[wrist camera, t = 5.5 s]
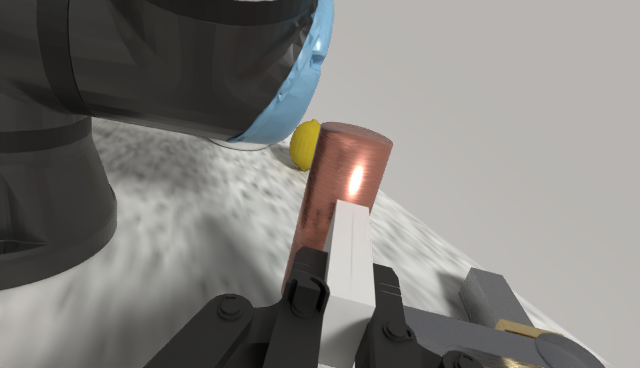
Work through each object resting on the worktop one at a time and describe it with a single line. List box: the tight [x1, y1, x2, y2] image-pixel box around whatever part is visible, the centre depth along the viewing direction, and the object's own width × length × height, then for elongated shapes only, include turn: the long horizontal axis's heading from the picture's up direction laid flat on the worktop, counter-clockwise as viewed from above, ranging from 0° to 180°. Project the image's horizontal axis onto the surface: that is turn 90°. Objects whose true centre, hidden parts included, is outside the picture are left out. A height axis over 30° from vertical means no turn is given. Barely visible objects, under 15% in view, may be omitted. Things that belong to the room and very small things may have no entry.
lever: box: [281, 122, 605, 368], centre depth 19 cm, size 20×4×11 cm, turn 84°
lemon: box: [290, 119, 321, 171], centre depth 52 cm, size 6×6×8 cm
